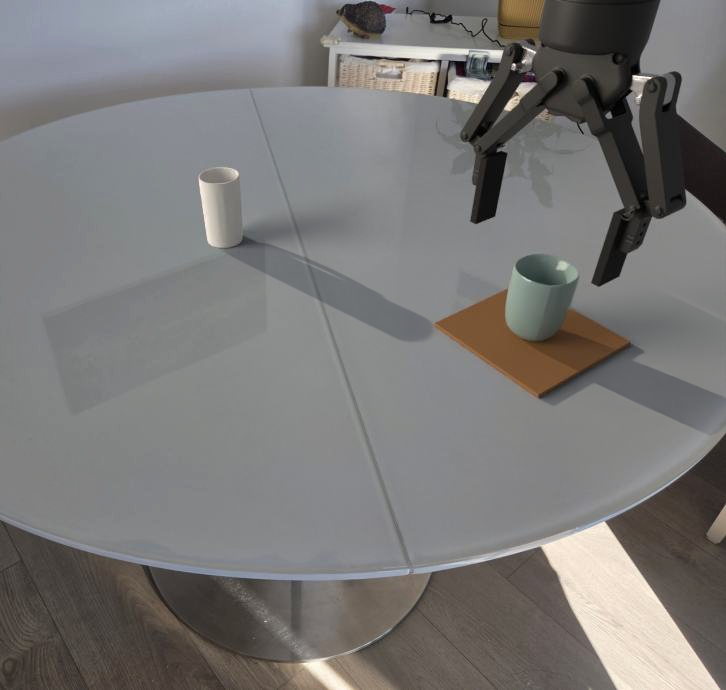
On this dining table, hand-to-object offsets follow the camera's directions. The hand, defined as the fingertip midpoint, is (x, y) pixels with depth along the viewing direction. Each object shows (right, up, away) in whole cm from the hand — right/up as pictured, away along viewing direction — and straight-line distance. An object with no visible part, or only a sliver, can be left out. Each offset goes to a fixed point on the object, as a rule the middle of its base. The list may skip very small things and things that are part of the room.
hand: (539, 247), depth 58 cm
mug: (-32, +10, +55) cm, 65 cm away
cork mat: (+11, -8, +29) cm, 32 cm away
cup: (+11, -7, +29) cm, 32 cm away
